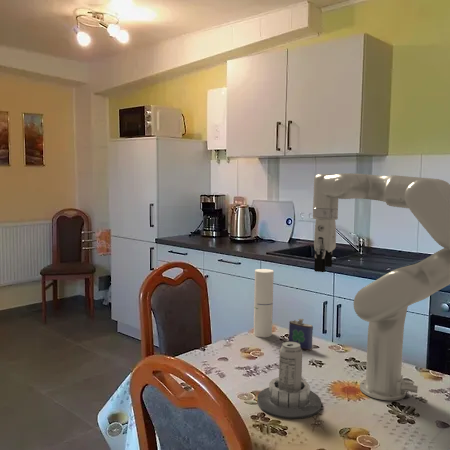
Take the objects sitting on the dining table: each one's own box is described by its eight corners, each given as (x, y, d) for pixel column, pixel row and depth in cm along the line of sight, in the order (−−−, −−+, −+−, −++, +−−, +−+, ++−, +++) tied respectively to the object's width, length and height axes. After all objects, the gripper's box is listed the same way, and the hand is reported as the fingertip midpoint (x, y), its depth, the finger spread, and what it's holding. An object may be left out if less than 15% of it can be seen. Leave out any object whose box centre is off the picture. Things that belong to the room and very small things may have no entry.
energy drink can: (305, 399, 129) (307, 345, 128) (290, 405, 125) (292, 350, 124) (288, 391, 134) (290, 339, 132) (273, 397, 130) (275, 343, 128)
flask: (313, 349, 171) (314, 320, 169) (309, 352, 168) (310, 322, 167) (290, 343, 176) (291, 315, 175) (286, 346, 174) (287, 317, 173)
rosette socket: (327, 396, 134) (328, 378, 133) (312, 424, 118) (312, 404, 118) (269, 385, 141) (269, 367, 140) (247, 410, 125) (248, 391, 125)
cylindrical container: (266, 338, 182) (268, 273, 179) (250, 335, 185) (251, 271, 183) (275, 333, 188) (276, 270, 185) (258, 330, 191) (260, 268, 189)
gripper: (331, 216, 139) (329, 275, 141) (342, 213, 155) (340, 265, 156) (306, 215, 142) (304, 272, 144) (319, 212, 158) (318, 263, 159)
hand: (323, 268), depth 150 cm, fingers open, 9 cm apart
